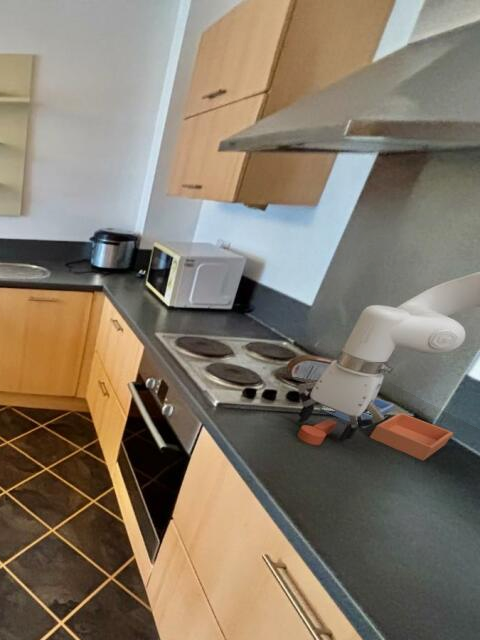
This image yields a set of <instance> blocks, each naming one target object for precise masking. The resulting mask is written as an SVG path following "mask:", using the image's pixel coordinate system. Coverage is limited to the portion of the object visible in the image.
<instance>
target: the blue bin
mask: <svg viewBox="0 0 480 640" xmlns="http://www.w3.org/2000/svg"><path fill="white" fill-rule="evenodd" d="M373 403H374V404H375V406H376V407H379V408H382V409H381V410H379V411H380V412H381V413H382V414H383V416H384V415H385V414H387V413H389V412H390V411H391V412H392V410H393V409H394V408H395V406H396V404H394V403H392V402H389V401H385V400H384V399H383V400H382V399H380V398H378V397H376V398H375V400H374V402H373ZM322 406H325V405H323V404H322ZM326 407H327V406H326ZM328 408H330V407H328ZM331 409H332V408H331ZM333 410H335V409H333ZM320 411H322V412H324V413H327V414H329V415H332V416H334V417H336V418H339V419H341V420H343V421H346V422H348V423H350V419H349V415H347V414H344V413H342V412H340V411H337V410H335V411H336V412H335V414H334V413H332V412H329V411H327V410H324V409H321V408H320ZM391 412H390V413H391ZM361 415H362V420H365V419H370V418H372V415H369V414H366V413H362V414H361ZM386 418H388V416H385V419H386ZM370 426H373V424H371V425H368V426H363V427H361V428H363V429H367V428H369V427H370Z"/></svg>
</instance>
